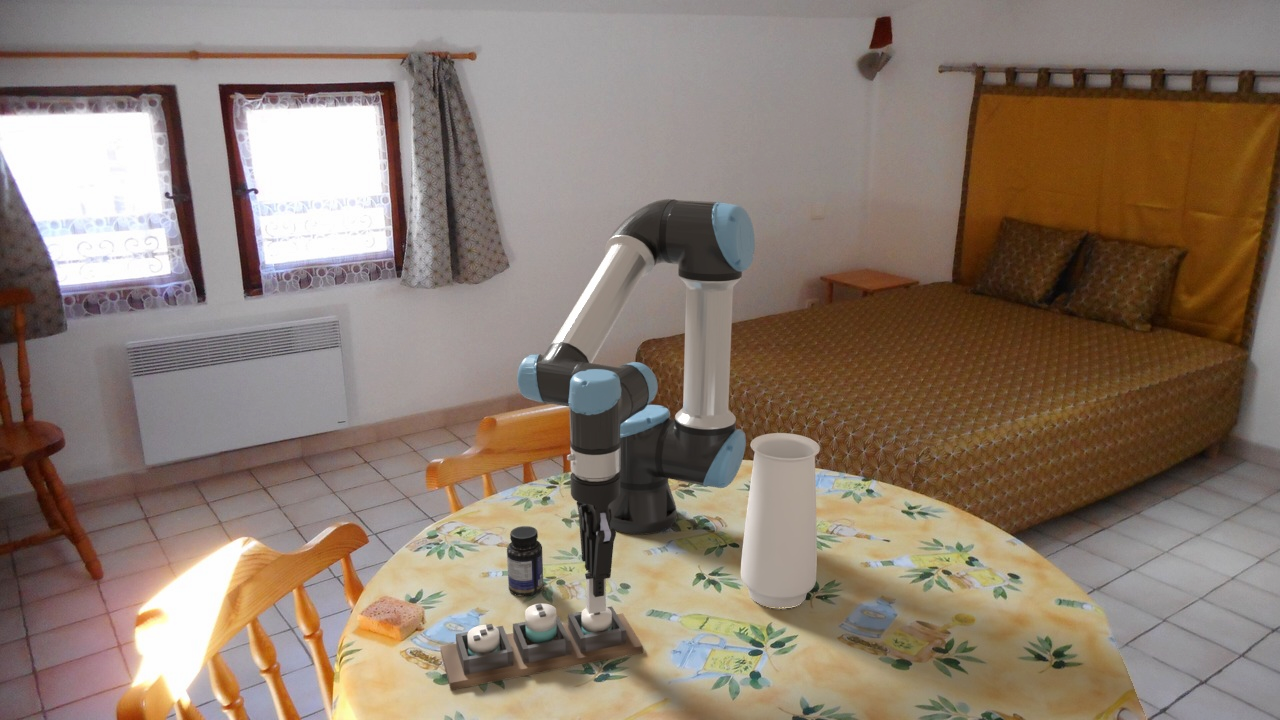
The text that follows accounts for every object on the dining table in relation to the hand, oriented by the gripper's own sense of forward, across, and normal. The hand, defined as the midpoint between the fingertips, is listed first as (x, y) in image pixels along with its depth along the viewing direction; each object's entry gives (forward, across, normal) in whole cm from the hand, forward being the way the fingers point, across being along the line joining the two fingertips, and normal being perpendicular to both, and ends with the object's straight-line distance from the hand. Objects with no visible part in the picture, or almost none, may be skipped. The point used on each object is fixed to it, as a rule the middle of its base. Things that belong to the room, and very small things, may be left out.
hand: (596, 610), depth 155 cm
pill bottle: (+6, -20, -7) cm, 22 cm away
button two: (+3, 0, -9) cm, 9 cm away
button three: (+5, 0, -18) cm, 19 cm away
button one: (+5, 0, 0) cm, 5 cm away
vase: (+6, -4, +34) cm, 35 cm away
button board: (+6, 0, -9) cm, 11 cm away
